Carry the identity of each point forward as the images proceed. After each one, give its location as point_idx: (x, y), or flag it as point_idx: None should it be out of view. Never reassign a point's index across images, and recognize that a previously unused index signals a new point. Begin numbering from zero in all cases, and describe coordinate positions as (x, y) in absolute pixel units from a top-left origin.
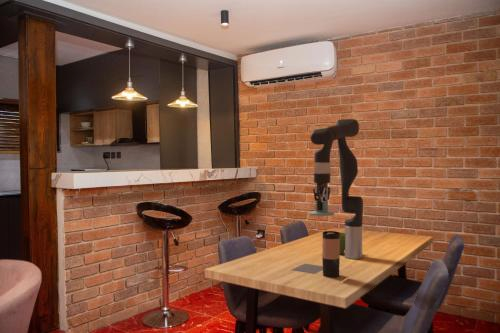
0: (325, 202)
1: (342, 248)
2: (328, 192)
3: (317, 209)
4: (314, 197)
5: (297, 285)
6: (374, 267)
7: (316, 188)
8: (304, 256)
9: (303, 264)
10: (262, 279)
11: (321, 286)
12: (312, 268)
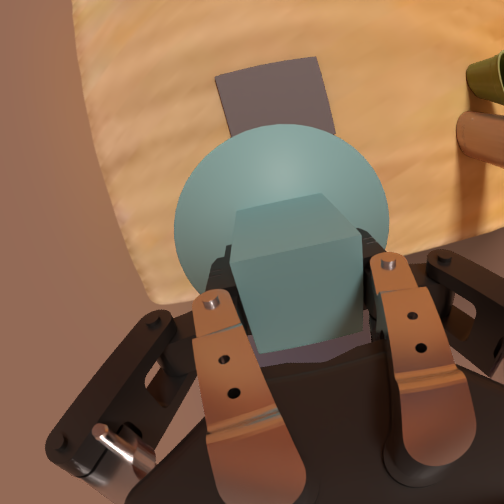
0: (295, 340)
1: (486, 98)
2: (481, 363)
3: (226, 246)
4: (118, 348)
5: (129, 194)
6: (418, 225)
7: (86, 483)
8: (393, 12)
9: (302, 60)
10: (98, 103)
11: (169, 236)
12: (283, 109)
